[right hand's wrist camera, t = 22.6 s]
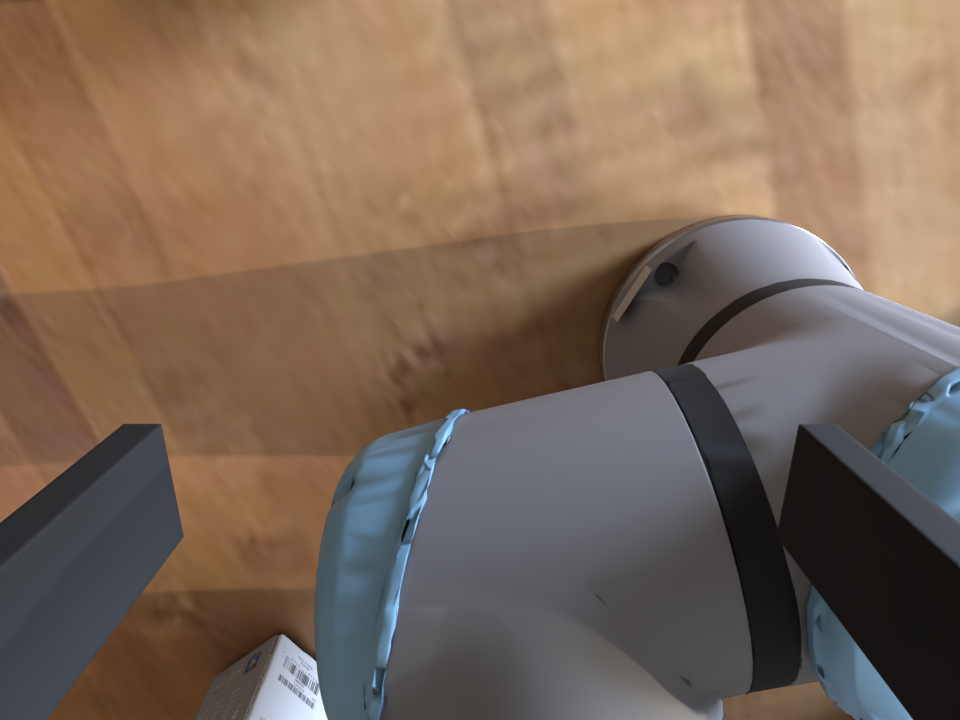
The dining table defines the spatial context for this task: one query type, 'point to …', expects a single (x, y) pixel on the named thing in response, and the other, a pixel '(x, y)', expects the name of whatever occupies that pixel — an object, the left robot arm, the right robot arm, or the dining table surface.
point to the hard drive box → (266, 686)
